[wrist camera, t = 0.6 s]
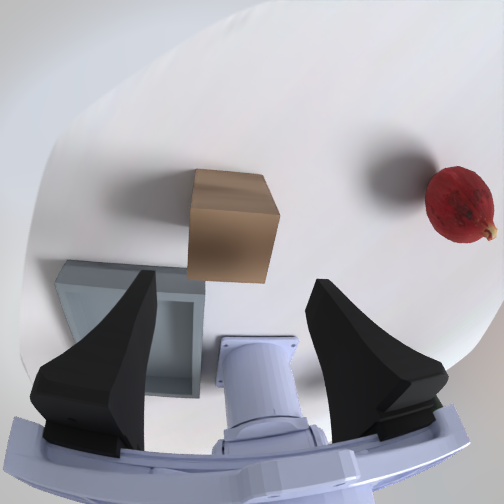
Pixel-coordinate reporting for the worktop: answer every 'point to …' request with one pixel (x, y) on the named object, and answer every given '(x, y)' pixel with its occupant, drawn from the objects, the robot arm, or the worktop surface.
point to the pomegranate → (460, 205)
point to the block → (231, 227)
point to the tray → (167, 320)
